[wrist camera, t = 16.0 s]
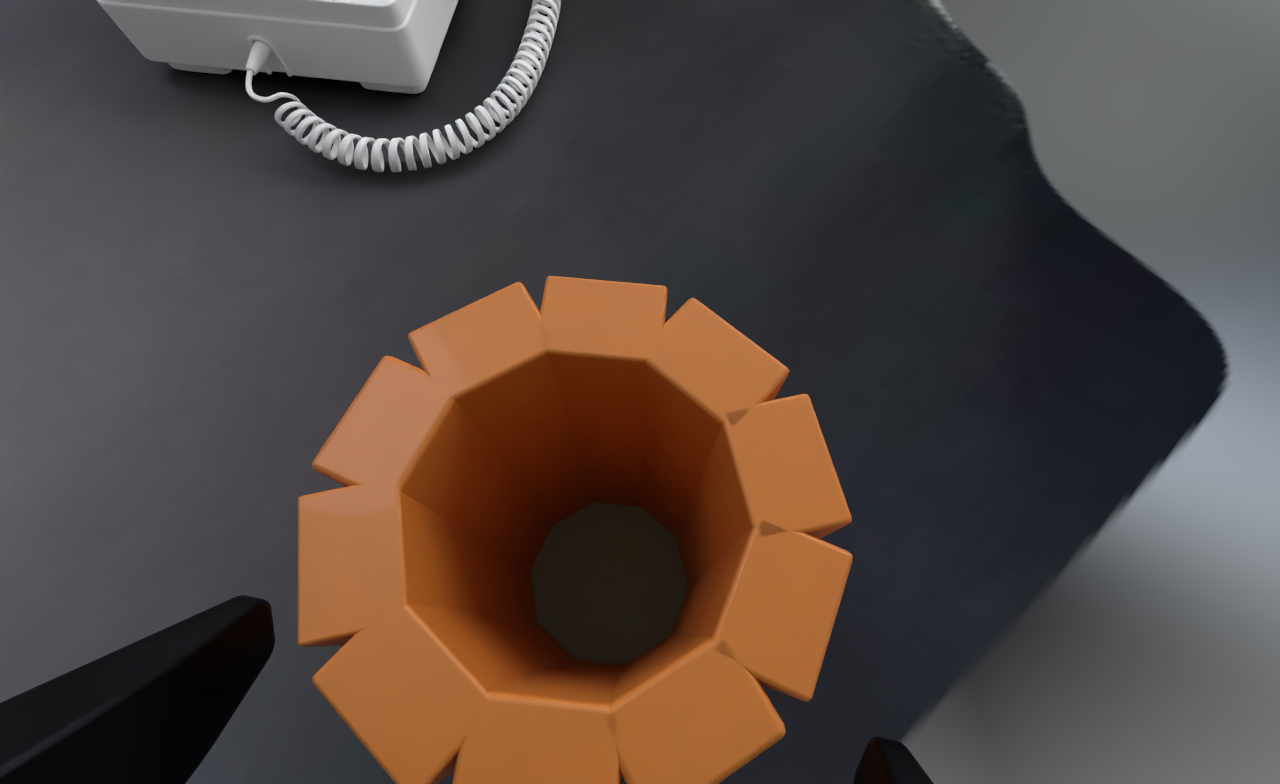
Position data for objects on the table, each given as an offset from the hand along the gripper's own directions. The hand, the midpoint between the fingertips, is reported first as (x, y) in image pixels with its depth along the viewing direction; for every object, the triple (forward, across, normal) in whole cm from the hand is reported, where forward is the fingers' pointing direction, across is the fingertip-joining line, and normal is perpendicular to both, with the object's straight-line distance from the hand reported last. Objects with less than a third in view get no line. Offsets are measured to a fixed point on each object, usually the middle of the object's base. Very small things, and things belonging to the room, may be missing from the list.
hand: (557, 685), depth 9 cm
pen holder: (+6, 0, +3) cm, 7 cm away
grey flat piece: (+6, 0, +4) cm, 7 cm away
